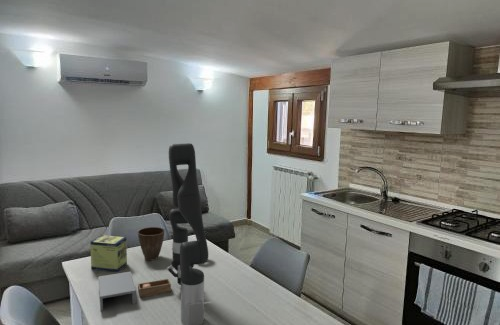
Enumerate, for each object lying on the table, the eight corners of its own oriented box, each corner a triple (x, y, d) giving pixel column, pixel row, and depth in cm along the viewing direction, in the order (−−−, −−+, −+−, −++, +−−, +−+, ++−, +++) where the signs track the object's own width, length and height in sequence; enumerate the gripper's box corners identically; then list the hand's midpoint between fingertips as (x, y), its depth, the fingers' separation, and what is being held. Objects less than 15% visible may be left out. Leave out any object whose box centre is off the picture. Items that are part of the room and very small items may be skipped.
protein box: (117, 272, 185) (117, 243, 183) (90, 269, 187) (89, 241, 185) (127, 263, 195) (127, 237, 193) (101, 261, 197) (100, 234, 195)
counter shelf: (136, 304, 154) (135, 290, 153) (100, 311, 148) (99, 296, 147) (131, 284, 172) (130, 271, 171) (99, 289, 166) (98, 276, 165)
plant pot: (138, 253, 209) (137, 227, 207) (163, 251, 214) (163, 226, 211) (138, 264, 195) (137, 236, 193) (165, 261, 199) (165, 234, 197)
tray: (170, 292, 165) (170, 283, 164) (139, 298, 159) (139, 289, 158) (168, 287, 170) (168, 278, 169) (138, 293, 164) (138, 283, 163)
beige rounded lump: (143, 295, 160) (143, 287, 160) (142, 292, 164) (142, 284, 163) (151, 294, 162) (150, 286, 161) (149, 290, 165) (149, 283, 164)
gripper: (168, 254, 161) (168, 290, 163) (196, 250, 166) (196, 285, 169) (164, 248, 167) (165, 283, 170) (192, 245, 173) (191, 278, 175)
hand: (180, 284), depth 169 cm, fingers closed
